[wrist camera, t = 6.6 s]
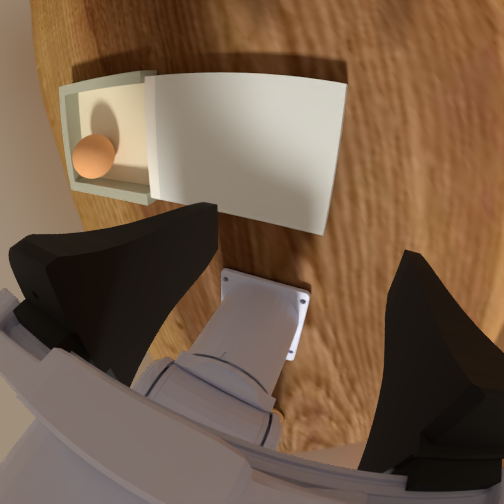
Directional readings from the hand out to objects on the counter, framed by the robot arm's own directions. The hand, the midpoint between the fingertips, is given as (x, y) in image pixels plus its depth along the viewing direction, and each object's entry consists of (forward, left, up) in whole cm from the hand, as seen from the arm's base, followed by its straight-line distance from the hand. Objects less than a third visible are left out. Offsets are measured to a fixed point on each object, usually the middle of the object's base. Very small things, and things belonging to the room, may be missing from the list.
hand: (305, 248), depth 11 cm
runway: (+1, +7, -10) cm, 12 cm away
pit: (+1, +20, -10) cm, 22 cm away
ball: (0, +20, -8) cm, 21 cm away
